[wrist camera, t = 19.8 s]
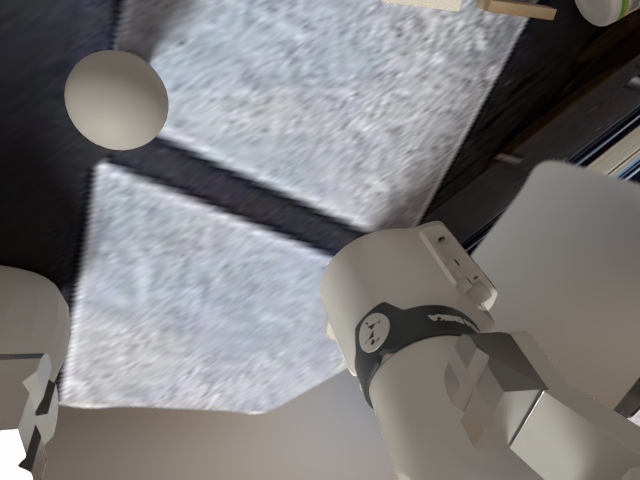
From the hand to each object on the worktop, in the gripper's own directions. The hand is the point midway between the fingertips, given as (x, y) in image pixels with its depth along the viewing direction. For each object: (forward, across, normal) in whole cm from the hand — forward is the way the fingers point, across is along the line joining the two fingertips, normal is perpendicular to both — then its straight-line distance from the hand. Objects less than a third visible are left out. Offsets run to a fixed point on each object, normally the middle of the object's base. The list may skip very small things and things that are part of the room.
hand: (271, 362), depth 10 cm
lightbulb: (+34, +6, +4) cm, 35 cm away
